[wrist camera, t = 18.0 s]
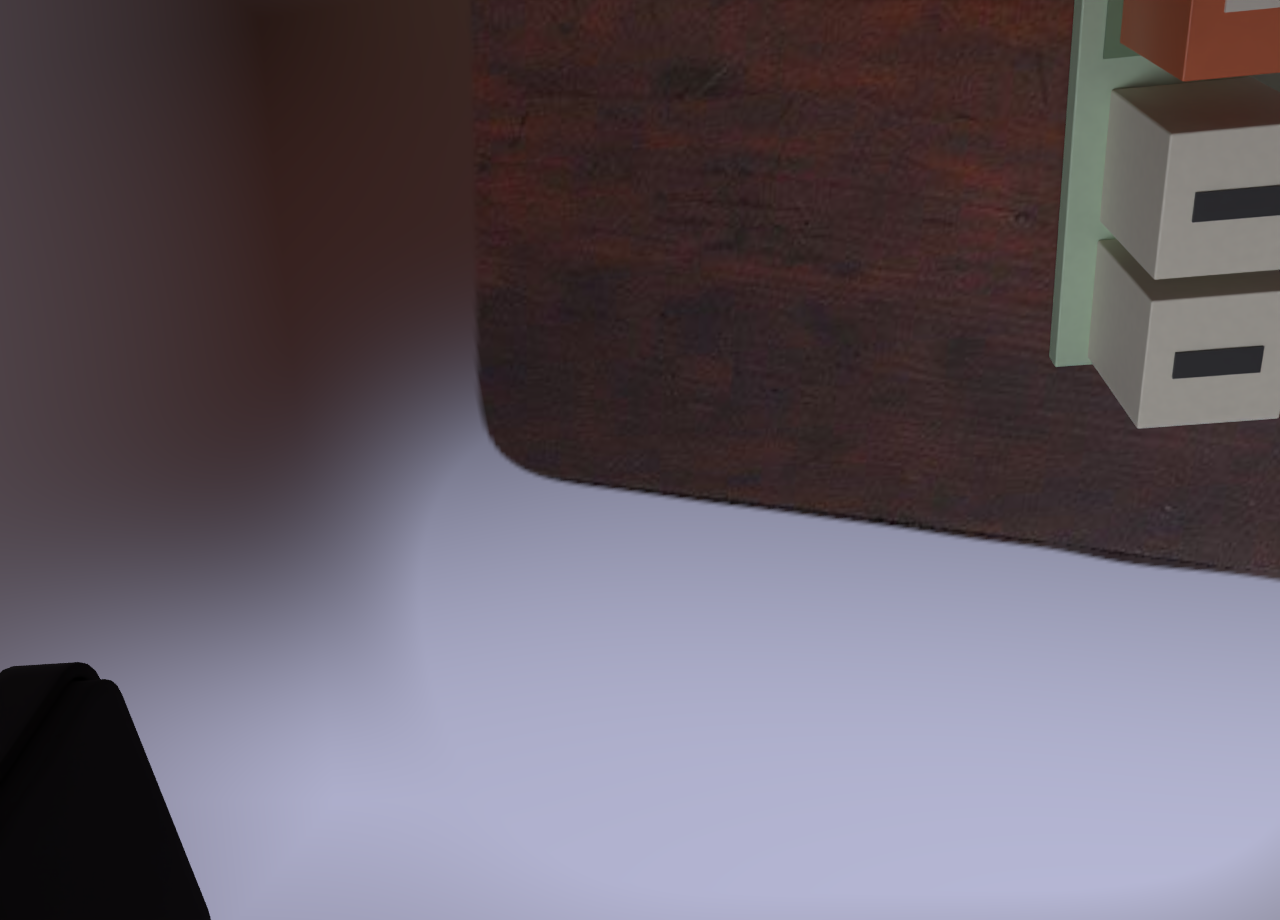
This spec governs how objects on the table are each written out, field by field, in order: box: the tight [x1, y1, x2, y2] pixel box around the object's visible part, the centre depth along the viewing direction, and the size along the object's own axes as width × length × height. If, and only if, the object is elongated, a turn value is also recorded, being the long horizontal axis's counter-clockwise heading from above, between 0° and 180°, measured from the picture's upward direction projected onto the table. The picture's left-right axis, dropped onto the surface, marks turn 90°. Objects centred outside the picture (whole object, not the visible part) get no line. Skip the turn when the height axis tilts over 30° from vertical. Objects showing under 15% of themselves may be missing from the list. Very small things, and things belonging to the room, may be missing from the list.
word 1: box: [1049, 0, 1280, 428], centre depth 34 cm, size 6×15×6 cm, turn 6°
